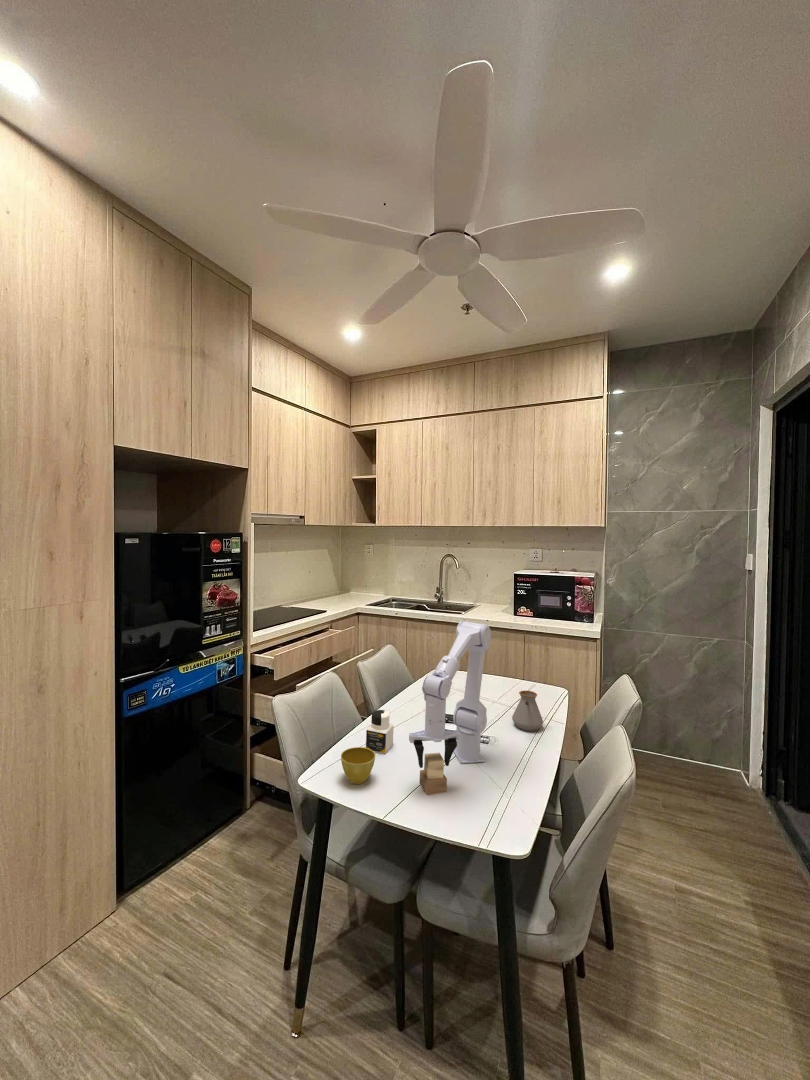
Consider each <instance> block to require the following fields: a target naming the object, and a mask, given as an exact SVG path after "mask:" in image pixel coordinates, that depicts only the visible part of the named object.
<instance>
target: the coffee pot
mask: <svg viewBox="0 0 810 1080" xmlns="http://www.w3.org/2000/svg"><path fill="white" fill-rule="evenodd" d="M518 694H519V695H520V697H521V698H520V700H519V701H518V704H517V706H516V707H515V710H514V712H513V714H512V716H511V718H512V721H513V723H514V724H515V726H516V727H517V728H518V729H520V730H523V731H524V732H525V731H526V732H535V731H537V730H538V729H540V728H541V727H542V726H543V724H544V720H543V717H542V715H541V712H540V709H539V706H538V703H537V701H536V698H537V697H538V694H537V693H536V692H535V691H531V690H521V691H518Z"/></svg>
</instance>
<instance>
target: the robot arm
mask: <svg viewBox="0 0 810 1080" xmlns="http://www.w3.org/2000/svg"><path fill="white" fill-rule="evenodd" d="M455 637H456V638H455V640H454V642H453V644H452V646H451V648H450V649H449V653H448V654H447V655H443V657H442V658H441V659H440V661H439V662H438V664H437V666H436V667H435V669H434V670H433V672H432V673H431V674H429V675H427V676H425V677H424V679H423V683H422V686H421V691H422V693H423V699H424V701H425V714H424V716H425V717H424V719H425V720H424V721H425V722H424V730H420V731H415V732H409V734H408V736H409V737H408V740H409V743H410V744H413V746H414V749H415V751H416V752H415V753H416V755H417V756H416V757H417V761H418V762H417V763H418V767H419V769H422V768H423V769H424V758H423V757H424V752H425V751H424V750H425V747H424V744H423V742H427V741H428V742H429V741H431V742H434V743H441V742H443V741H444V758H443V760H444V765H445V766H446V767H449V765H450V761H451V760H452V759H451V758H452V756H453V753H454V754H455V757H456V758H457V759H458V760H457V761H459V763H460V764H473V763H484V762H485V759H484V757H483V756H482V755H481V734H482V733H483V732H484V731H485V730H486V728H487V723H488V717H487V708H486V706H485V705H484V704H483V703H482V702H481V701H480V698H481V697H480V696H481V695H480V694H481V687H482V682H483V681H482V680H483V673H484V672H483V670H484V662H485V657H486V655H485V654H486V651H487V650H489V649H490V645H491V637H492V630H491V628H490V626H489V624H487V623H485V624H483V623H477V622H471V621H465V620H460V622H459V623H458V624H457V626H456V630H455ZM468 650H469V654H468V662H467V663H468V664H467V670H466V671H467V672H466V678H465V687H464V695H463V698H462V699H460V700H459V701H458V702H456V705H455V709H454V712H453V716H452V720H453V724H454V725H455V726H456V729H455V730H451V729H446V707H447V698H448V697H449V694H450V692H451V687H452V685H453V682H452V681H453V679H454V677H455V675H456V674H457V672H458V671H459V668H460V664H459V662H460V659H461V658H462V657H463V655H465V653H466V652H467V651H468Z"/></svg>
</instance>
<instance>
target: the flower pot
mask: <svg viewBox="0 0 810 1080" xmlns="http://www.w3.org/2000/svg"><path fill="white" fill-rule="evenodd" d="M375 760H376V752H374V751H372V750H370V749H368V748H366V747H361V746H357V747H356V746H355V747H350V748H346V749H344V751H342V752H341V754H340V761H341V766H342V769H343V771H344V772H343V773H344V774H345V777H346V778H347V780H348V782H349V783H350V784H352V785H353V784H354V785H361V784H363V783H365V782H366V781H367V779H368V777H369V776H370V774H371V772H372V770H373V767H374V764H375Z"/></svg>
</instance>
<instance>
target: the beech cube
mask: <svg viewBox="0 0 810 1080" xmlns="http://www.w3.org/2000/svg"><path fill="white" fill-rule="evenodd" d="M444 769H445V763H444V758H443V756H442V755H441V752H433V753H432V752H431V753H424V758H423V770H424V772H425V774H426V776H427V778H428V779H439V778H443V776H444V775H445V774H444V772H445V771H444Z"/></svg>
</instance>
